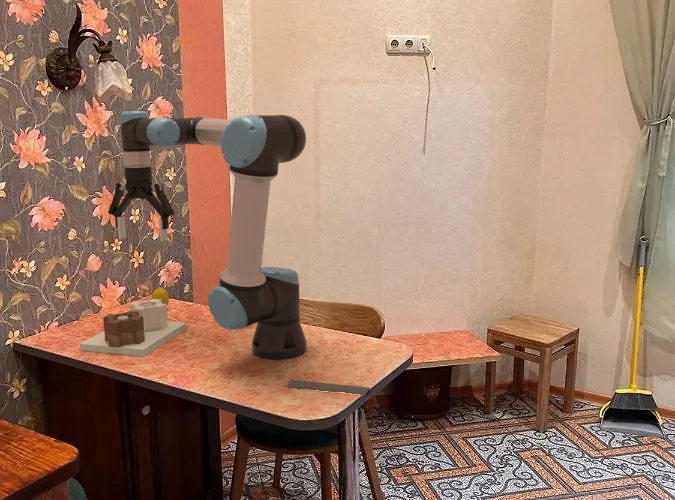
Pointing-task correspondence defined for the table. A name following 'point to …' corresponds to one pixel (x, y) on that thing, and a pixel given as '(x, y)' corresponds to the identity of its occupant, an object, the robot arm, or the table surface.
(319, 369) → the table surface
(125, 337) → the walnut gear
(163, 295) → the lemon
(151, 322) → the cream gear
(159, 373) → the table surface
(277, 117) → the robot arm
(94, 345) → the board
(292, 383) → the gray half cylinder
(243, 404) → the table surface
